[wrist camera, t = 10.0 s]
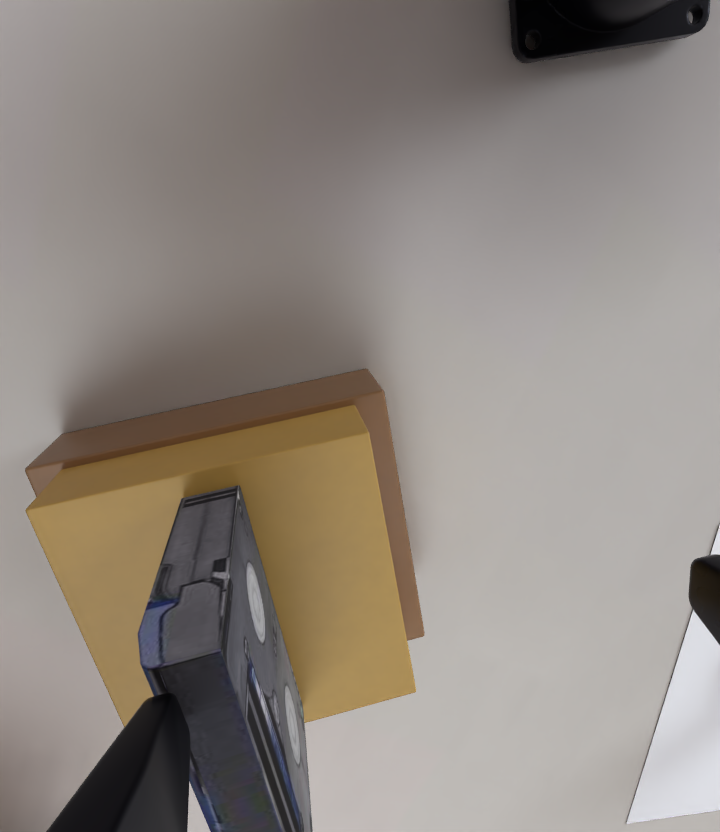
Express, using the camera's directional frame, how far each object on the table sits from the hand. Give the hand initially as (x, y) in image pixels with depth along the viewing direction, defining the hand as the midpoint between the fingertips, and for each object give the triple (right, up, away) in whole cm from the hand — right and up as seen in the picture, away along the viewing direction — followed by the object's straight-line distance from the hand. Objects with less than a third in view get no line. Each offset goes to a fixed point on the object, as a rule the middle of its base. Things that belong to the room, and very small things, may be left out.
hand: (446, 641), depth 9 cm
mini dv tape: (-5, -2, +7) cm, 8 cm away
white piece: (+25, -11, +21) cm, 34 cm away
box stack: (-6, 0, +12) cm, 13 cm away
